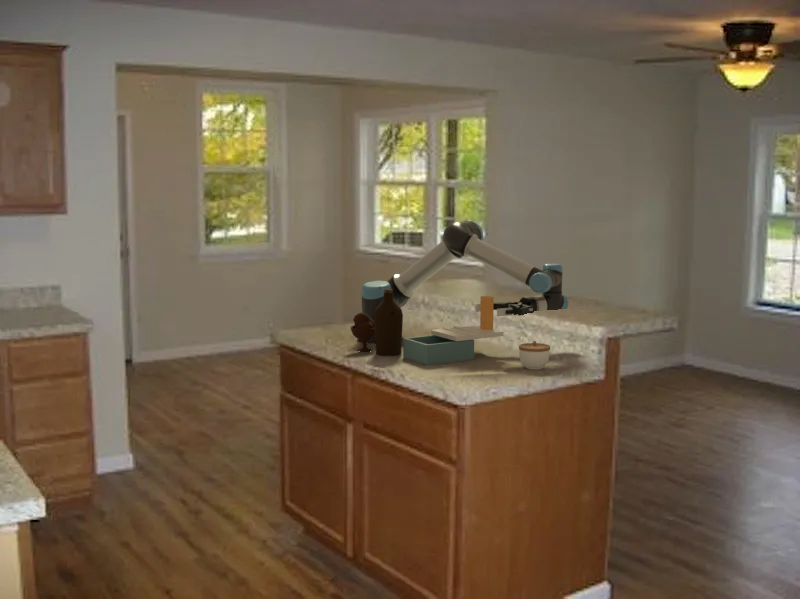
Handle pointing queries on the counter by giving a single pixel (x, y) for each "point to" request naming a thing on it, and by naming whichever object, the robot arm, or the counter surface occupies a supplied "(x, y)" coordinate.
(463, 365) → the counter surface
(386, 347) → the olive oil
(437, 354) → the tub
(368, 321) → the ice cream bowl
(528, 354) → the lidded jar
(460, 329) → the lid
